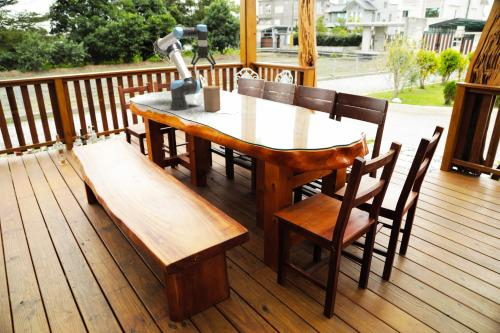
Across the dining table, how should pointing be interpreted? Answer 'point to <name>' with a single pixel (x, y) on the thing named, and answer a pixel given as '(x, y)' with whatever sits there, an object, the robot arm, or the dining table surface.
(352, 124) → the dining table surface
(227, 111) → the mat
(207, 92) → the wooden block
